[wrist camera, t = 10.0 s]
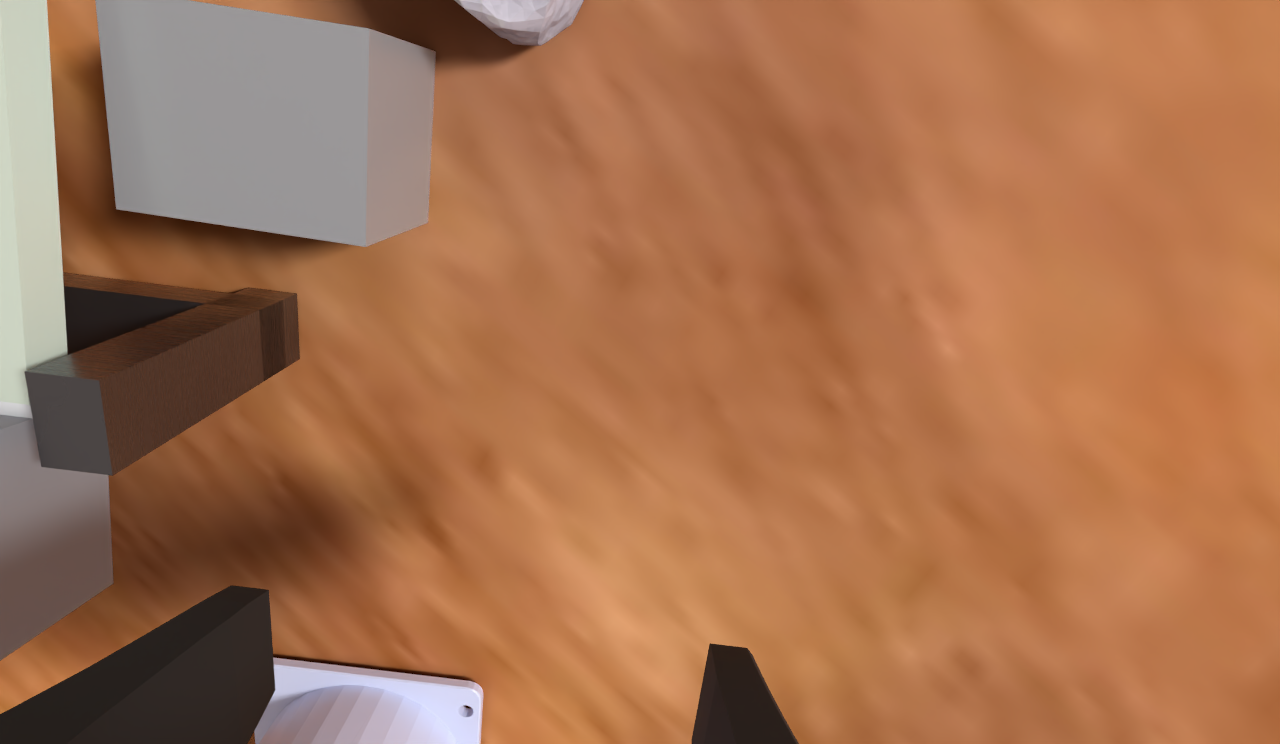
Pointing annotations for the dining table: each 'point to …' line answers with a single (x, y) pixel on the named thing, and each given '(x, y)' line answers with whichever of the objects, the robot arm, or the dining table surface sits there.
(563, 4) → the stone block
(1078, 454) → the dining table surface
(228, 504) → the dining table surface
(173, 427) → the frame
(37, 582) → the trapdoor
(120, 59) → the grey rectangular block
